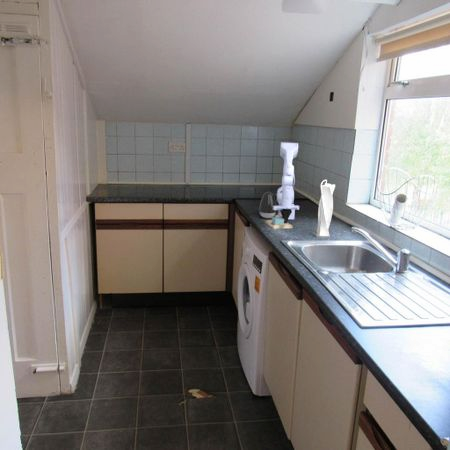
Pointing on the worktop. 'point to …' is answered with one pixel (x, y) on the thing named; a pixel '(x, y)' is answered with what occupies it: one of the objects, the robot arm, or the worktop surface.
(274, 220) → the stub
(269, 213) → the dark egg-shaped dome
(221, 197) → the worktop surface
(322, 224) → the skyscraper
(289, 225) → the board
